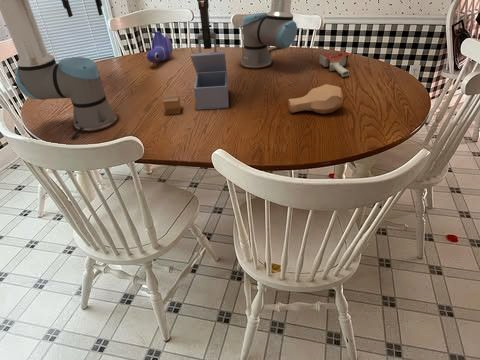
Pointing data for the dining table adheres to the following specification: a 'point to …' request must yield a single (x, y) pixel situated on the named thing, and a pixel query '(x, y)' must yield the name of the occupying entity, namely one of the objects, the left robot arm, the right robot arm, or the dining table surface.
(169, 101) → the block
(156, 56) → the toy
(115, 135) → the dining table surface
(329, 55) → the grey red-topped piece
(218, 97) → the chest
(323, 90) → the squash
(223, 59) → the lid
